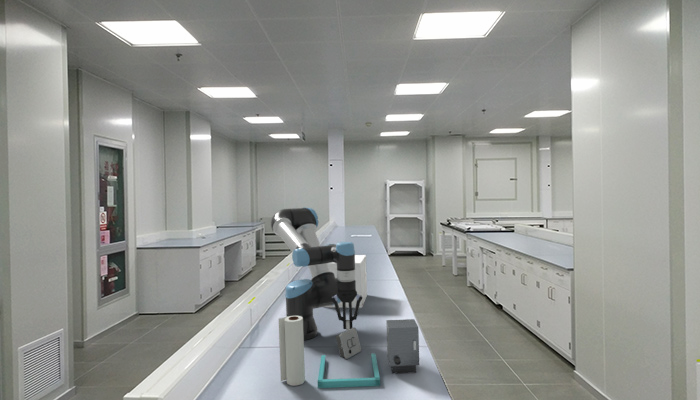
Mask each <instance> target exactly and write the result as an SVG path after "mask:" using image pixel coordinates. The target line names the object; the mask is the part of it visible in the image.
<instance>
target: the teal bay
mask: <svg viewBox="0 0 700 400" xmlns="http://www.w3.org/2000/svg"><path fill="white" fill-rule="evenodd" d="M370 357H371V358H370V359H371V365H372V373H373V377H355V378H354V377H353V378H351V377H350V378H325V377H324V376H325V372H326V371H325V370H326V369H325V368H326V360H327V359H326V358H327V356H326V354H321V357H320V363H319V370H318V376H317V389H327V388H329V389H331V388H351V387H352V388H354V387H357V388H358V387H379V386H381V378H380V372H379V366H378V362H377V355H376V352H375V353H373V352H372V353H370Z"/></svg>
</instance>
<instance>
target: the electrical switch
mask: <svg viewBox="0 0 700 400" xmlns="http://www.w3.org/2000/svg"><path fill="white" fill-rule="evenodd" d="M357 331H358V330H357V328H356V327H353V328H351V329H349V330H347V331H346V330H345V331H343V332H341V333H339V334H338V335H335V341H336V345H337V348H338V352H339V353H338V354H339V355H340V356H339V357H341V358H342V357H344V359H345V360H348V359H350V358H351V357H353V356H355V355H356V354H359V353H360V352H362V347H361V343H360V339H359V335H358V332H357Z"/></svg>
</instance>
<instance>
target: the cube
mask: <svg viewBox="0 0 700 400" xmlns="http://www.w3.org/2000/svg"><path fill="white" fill-rule="evenodd" d="M327 265H328V268H329V271H331V272H333V273H334V275H335V278H337V263H327ZM367 273H368V272H367V255H366V254H355V279H354V280H355V281H356V291H357V294H358V295H361V296H362V300H361V302H360V305H359V309H362V308H363V306H364V304H365V302H366V299H367V296H368V280H367V279H368V278H367V277H368V276H367ZM356 298H357V297H355V299H354V300H353V301H352V309H355V307H356V302H357V299H356ZM338 306H339V309H340V308H342V309H343V303H342V302H340V303H339V304H338ZM325 308H335V305H333V306H326V307H325ZM347 308H348V309H349V303H348V302H347V303H346V309H347Z"/></svg>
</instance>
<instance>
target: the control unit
mask: <svg viewBox="0 0 700 400" xmlns="http://www.w3.org/2000/svg"><path fill="white" fill-rule="evenodd" d="M385 321H386V348H387V349H386V353H387V360H388V363H389V367H390V369H391V371H392V374H410V373H411V374H413V373H414V374H415V373H417V366H420V337H419V334H420V333H419V330H420V329H419V325H418V323H417V322H416V320H415V319H414V318H411V319H410V318H409V319H408V318H405V319H386V320H385Z"/></svg>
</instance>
